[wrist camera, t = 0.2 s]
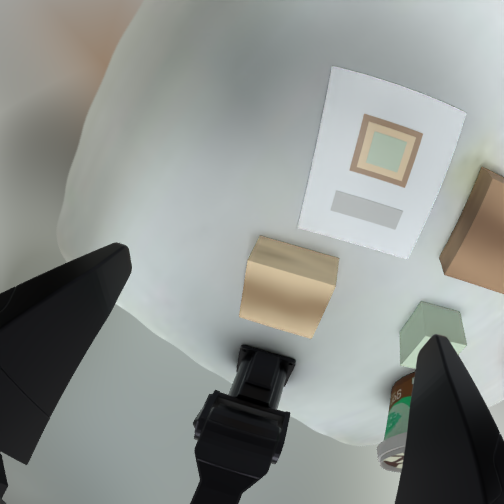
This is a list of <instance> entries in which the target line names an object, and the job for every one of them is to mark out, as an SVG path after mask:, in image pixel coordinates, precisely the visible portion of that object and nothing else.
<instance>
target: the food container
mask: <svg viewBox="0 0 504 504" xmlns="http://www.w3.org/2000/svg"><path fill="white" fill-rule="evenodd" d="M414 377H415V372H413V373H411V374H409V375H406V376H404V377H403V378H401V379H400V380H398V381H397V382H396V383H395V384H394V386H393V387H392V391H391V399H390V406H389V413H388V420H387V426H386V432H385V437H384V441H383V442H381V443H380V444H379V445H378V447H377V454H378V461H379V462H380V466H381V467H382V468H383V469H385V470H388V471H393V472H401V470H402V465H403V458H404V452H405V445H406V437H407V429H408V419H409V409H410V401H411V395H412V389H413V383H414Z"/></svg>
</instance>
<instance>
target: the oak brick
mask: <svg viewBox="0 0 504 504" xmlns="http://www.w3.org/2000/svg"><path fill="white" fill-rule="evenodd" d="M338 263H339V258H336V257H333V256H329V255H326V254H322V253H319V252H316V251H312V250H309V249H305V248H302V247H298V246H295V245H291V244H288V243H284V242H281V241H277V240H274V239H270V238H267V237H263V236H259V238H258V240H257V242H256V244H255V246H254V248H253V250H252V252H251V254H250V256H249V258H248V261H247V267H246V274H245V280H244V287H243V293H242V300H241V306H240V313H239V317H241V318H244V319H247V320H250V321H253V322H257V323H260V324H263V325H266V326H269V327H273V328H276V329H279V330H283V331H286V332H290V333H293V334H296V335H300V336H303V337H307V338H310V339H312V337H313V335H314V333H315V331H316V328H317V326H318V324H319V322H320V320H321V318H322V316H323V313H324V311H325V309H326V307H327V305H328V302H329V300H330V298H331V296H332V293H333V291H334V289H335V287H336V280H337V272H338Z"/></svg>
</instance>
